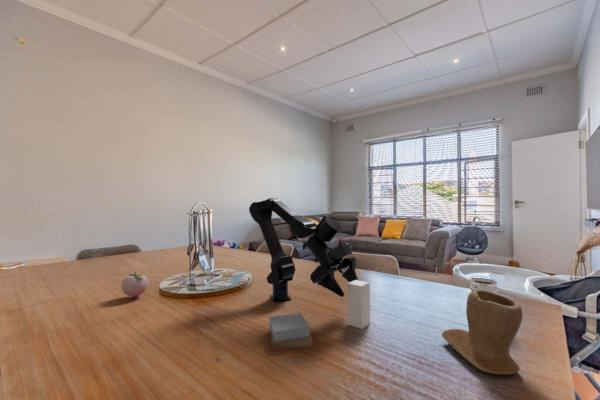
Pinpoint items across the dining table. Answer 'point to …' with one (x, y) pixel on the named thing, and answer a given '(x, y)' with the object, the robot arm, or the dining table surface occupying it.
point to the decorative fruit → (134, 285)
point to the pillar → (358, 304)
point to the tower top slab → (289, 327)
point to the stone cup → (488, 332)
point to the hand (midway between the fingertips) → (351, 292)
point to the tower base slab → (291, 343)
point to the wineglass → (483, 285)
